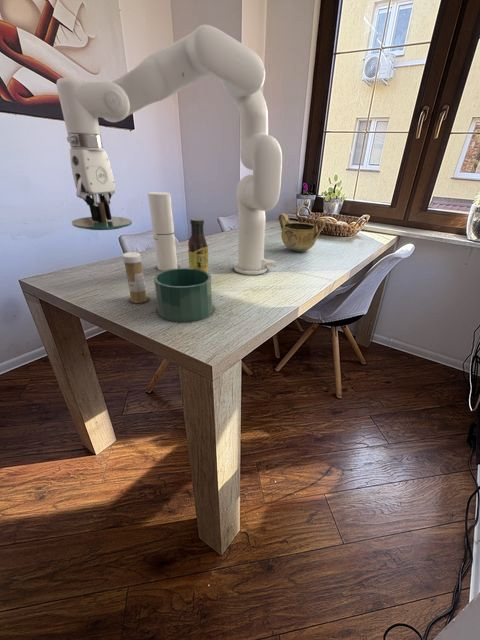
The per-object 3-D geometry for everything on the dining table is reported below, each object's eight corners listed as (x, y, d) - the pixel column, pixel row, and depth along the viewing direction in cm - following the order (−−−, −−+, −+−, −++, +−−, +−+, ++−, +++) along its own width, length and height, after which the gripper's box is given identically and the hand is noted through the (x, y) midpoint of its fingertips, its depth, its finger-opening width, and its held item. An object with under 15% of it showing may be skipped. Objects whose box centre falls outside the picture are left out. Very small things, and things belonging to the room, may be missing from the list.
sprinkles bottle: (128, 300, 90) (118, 253, 82) (142, 296, 93) (134, 250, 85) (136, 305, 87) (127, 257, 80) (150, 300, 90) (143, 254, 83)
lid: (138, 221, 97) (134, 199, 93) (123, 232, 84) (119, 208, 80) (85, 219, 95) (80, 197, 92) (62, 230, 82) (55, 205, 79)
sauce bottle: (200, 286, 101) (196, 222, 91) (186, 282, 104) (180, 219, 93) (213, 281, 106) (210, 219, 95) (199, 277, 109) (195, 216, 98)
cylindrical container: (172, 271, 112) (164, 195, 98) (154, 269, 113) (143, 193, 99) (180, 265, 118) (174, 192, 104) (163, 263, 119) (154, 191, 105)
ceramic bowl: (326, 251, 147) (332, 217, 139) (311, 258, 135) (317, 222, 127) (285, 242, 157) (288, 210, 149) (268, 249, 144) (270, 214, 136)
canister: (213, 299, 93) (212, 268, 88) (210, 322, 81) (209, 288, 76) (163, 298, 92) (159, 267, 87) (153, 322, 80) (148, 287, 74)
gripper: (72, 142, 71) (91, 226, 81) (120, 145, 84) (131, 217, 94) (46, 140, 73) (68, 223, 83) (97, 143, 86) (111, 214, 96)
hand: (102, 219), depth 88 cm, fingers closed on lid, 2 cm apart
